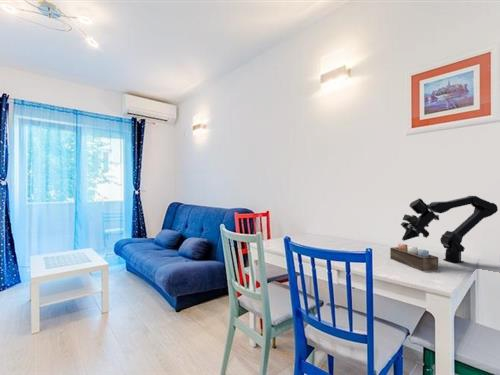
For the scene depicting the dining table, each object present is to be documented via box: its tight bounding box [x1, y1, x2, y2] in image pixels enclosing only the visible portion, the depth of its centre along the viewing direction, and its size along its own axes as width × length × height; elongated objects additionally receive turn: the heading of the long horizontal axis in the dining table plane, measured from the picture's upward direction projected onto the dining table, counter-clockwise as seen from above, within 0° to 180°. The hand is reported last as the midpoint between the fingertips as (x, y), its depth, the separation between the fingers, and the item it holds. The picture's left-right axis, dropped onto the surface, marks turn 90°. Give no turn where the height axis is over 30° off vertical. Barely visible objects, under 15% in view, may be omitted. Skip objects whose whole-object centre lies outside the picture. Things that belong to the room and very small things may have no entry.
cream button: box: [407, 246, 419, 254], centre depth 137 cm, size 4×4×5 cm
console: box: [389, 246, 439, 271], centre depth 137 cm, size 9×22×6 cm, turn 9°
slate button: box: [418, 249, 430, 257], centre depth 130 cm, size 4×4×5 cm
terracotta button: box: [397, 243, 408, 250], centre depth 144 cm, size 4×4×5 cm
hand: (402, 240), depth 144 cm, fingers closed
